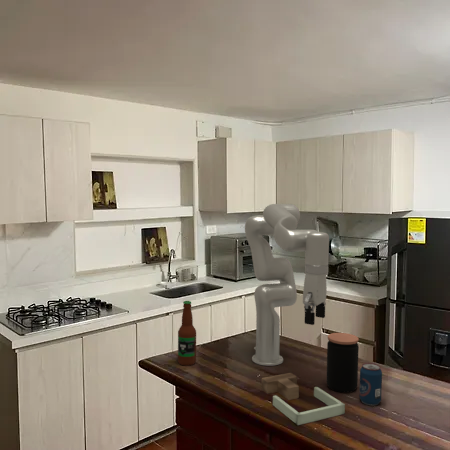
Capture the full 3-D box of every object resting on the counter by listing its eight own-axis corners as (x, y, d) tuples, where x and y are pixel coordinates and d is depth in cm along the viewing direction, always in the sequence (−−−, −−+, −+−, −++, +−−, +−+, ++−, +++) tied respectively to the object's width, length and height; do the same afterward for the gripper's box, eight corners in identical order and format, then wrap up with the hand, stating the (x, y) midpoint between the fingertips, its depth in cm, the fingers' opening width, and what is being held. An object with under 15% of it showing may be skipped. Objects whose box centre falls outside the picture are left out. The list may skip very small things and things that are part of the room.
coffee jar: (351, 380, 167) (353, 332, 165) (361, 393, 156) (363, 341, 155) (323, 380, 166) (324, 332, 165) (330, 393, 156) (332, 342, 154)
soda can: (354, 399, 152) (355, 363, 151) (370, 395, 154) (372, 361, 154) (369, 408, 145) (370, 371, 144) (385, 404, 148) (387, 368, 147)
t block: (261, 389, 159) (261, 378, 158) (290, 383, 164) (290, 372, 163) (278, 402, 149) (278, 390, 148) (308, 395, 154) (308, 384, 154)
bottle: (174, 363, 182) (174, 302, 180) (185, 358, 188) (185, 298, 186) (188, 367, 178) (188, 304, 176) (199, 361, 184) (200, 301, 182)
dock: (272, 405, 147) (272, 395, 146) (316, 395, 154) (317, 386, 154) (297, 425, 134) (298, 415, 134) (344, 413, 141) (344, 404, 141)
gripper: (315, 265, 159) (313, 313, 160) (295, 272, 144) (293, 325, 145) (336, 267, 155) (334, 316, 156) (317, 274, 140) (316, 329, 141)
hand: (314, 320), depth 151 cm, fingers open, 9 cm apart
